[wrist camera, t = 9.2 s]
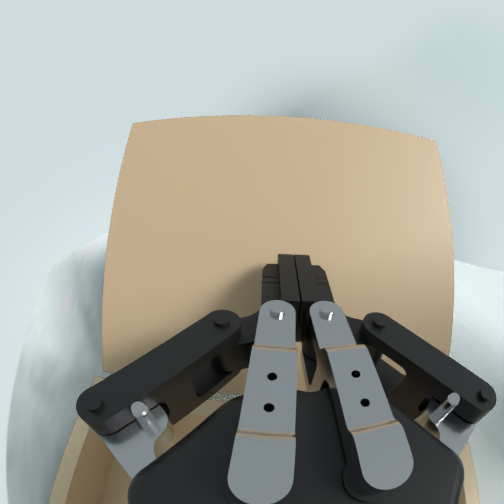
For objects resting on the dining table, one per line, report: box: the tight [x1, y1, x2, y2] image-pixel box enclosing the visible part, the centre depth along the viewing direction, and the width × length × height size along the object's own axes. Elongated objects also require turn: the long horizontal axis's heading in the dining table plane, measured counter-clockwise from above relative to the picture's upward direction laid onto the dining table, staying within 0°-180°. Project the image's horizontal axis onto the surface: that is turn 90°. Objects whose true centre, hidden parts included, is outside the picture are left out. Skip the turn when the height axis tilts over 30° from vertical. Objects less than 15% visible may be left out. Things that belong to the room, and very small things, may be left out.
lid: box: [102, 115, 454, 395], centre depth 14 cm, size 16×21×1 cm
